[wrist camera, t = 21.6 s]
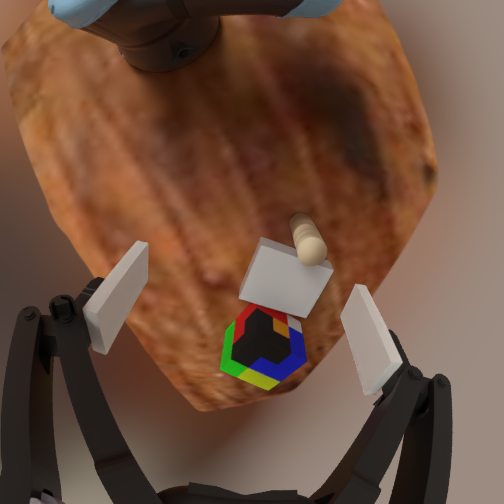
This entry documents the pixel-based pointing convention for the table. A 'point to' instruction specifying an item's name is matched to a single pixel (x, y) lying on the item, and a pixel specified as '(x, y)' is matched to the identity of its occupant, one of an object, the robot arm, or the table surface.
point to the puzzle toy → (263, 346)
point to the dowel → (307, 240)
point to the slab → (283, 279)
